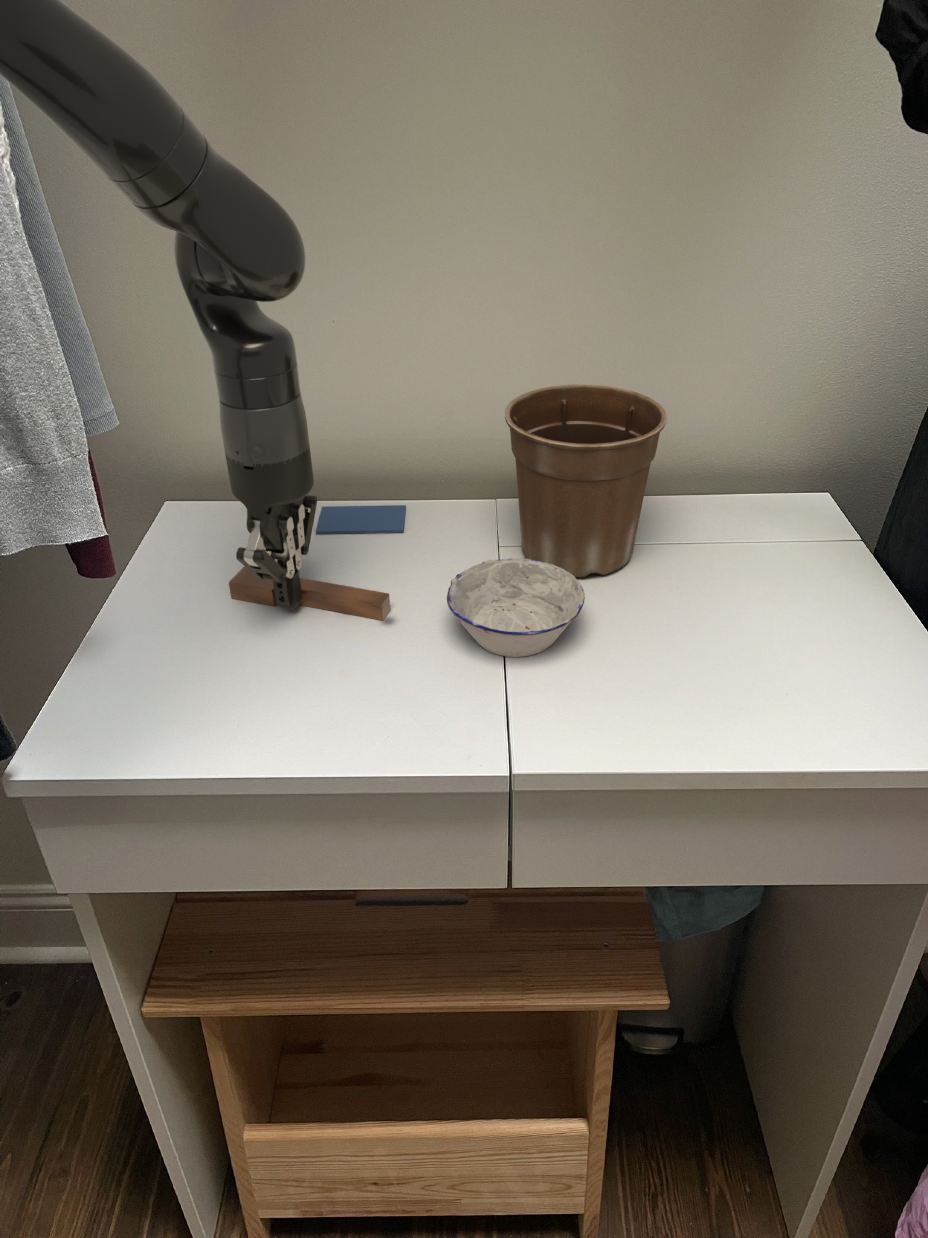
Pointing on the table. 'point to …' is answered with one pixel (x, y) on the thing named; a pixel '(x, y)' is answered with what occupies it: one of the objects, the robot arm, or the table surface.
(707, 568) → the table surface
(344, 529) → the cloth
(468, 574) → the bowl
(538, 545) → the plant pot
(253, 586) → the wooden mallet
